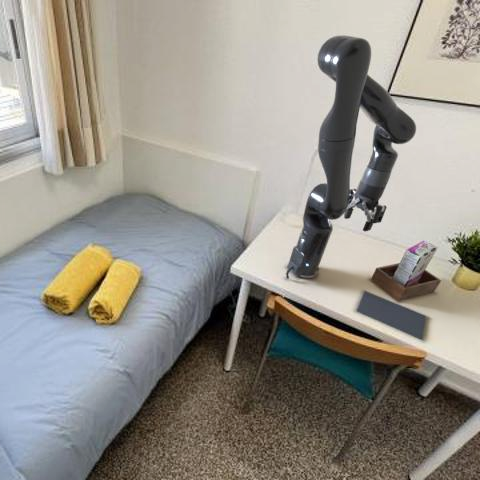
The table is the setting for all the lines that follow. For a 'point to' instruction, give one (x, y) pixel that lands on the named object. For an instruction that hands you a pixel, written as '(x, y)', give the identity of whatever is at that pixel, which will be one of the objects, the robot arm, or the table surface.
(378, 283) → the desk box
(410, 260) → the candy bar box
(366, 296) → the desk mat
